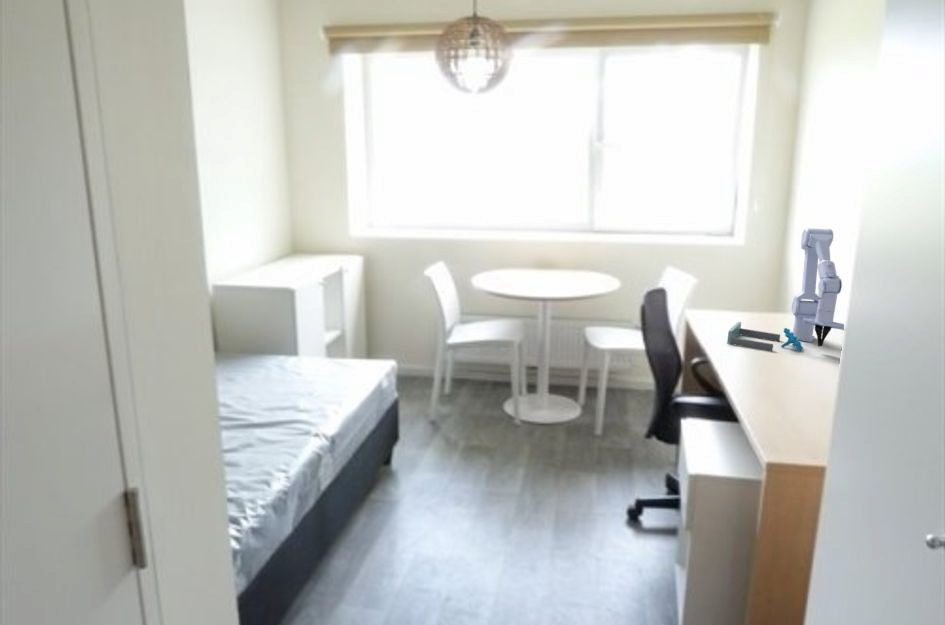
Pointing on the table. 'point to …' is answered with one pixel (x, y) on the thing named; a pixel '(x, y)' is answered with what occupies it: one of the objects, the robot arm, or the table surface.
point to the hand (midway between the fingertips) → (820, 345)
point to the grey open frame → (749, 343)
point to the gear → (792, 340)
